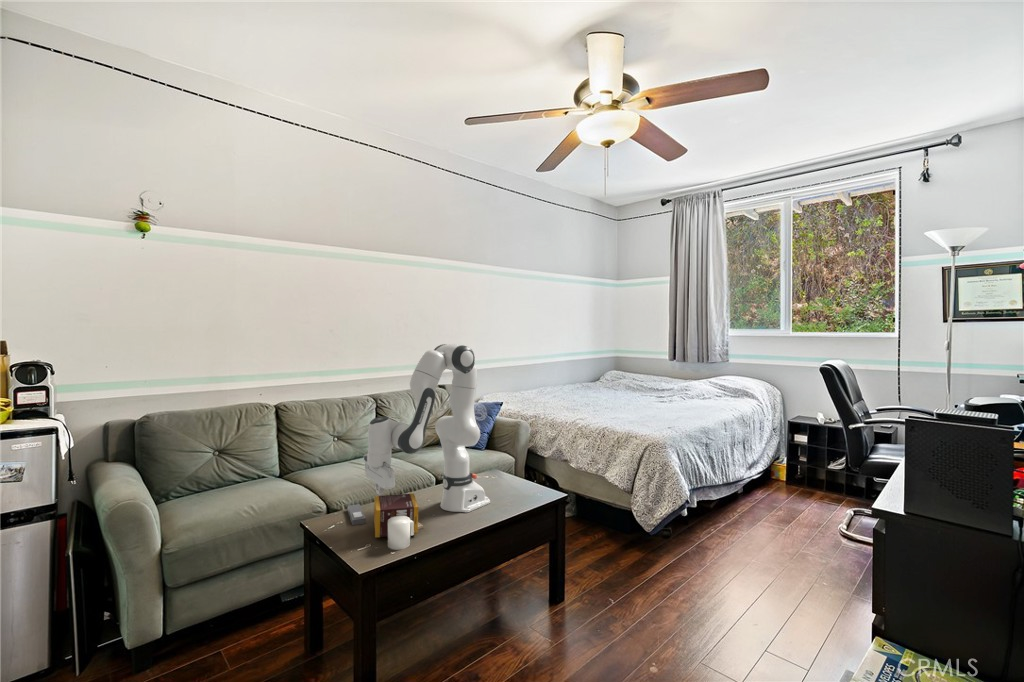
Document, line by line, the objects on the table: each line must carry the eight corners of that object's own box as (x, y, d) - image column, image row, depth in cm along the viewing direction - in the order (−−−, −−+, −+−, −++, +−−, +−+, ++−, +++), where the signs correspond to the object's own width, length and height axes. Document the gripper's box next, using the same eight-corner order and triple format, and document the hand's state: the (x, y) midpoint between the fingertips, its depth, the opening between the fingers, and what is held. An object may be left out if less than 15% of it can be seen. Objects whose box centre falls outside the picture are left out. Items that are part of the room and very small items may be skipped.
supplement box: (375, 510, 174) (418, 506, 179) (374, 495, 189) (414, 492, 194) (375, 538, 175) (418, 533, 180) (373, 521, 189) (413, 517, 194)
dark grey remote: (347, 511, 203) (347, 504, 203) (359, 509, 205) (359, 503, 205) (352, 526, 189) (352, 519, 188) (365, 524, 191) (365, 517, 191)
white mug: (407, 536, 180) (407, 513, 179) (417, 544, 173) (417, 520, 173) (384, 543, 174) (384, 519, 174) (393, 552, 168) (393, 527, 167)
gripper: (399, 464, 178) (399, 500, 179) (376, 451, 194) (376, 485, 195) (383, 467, 174) (383, 504, 175) (361, 454, 190) (361, 488, 191)
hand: (379, 494), depth 185 cm, fingers closed
